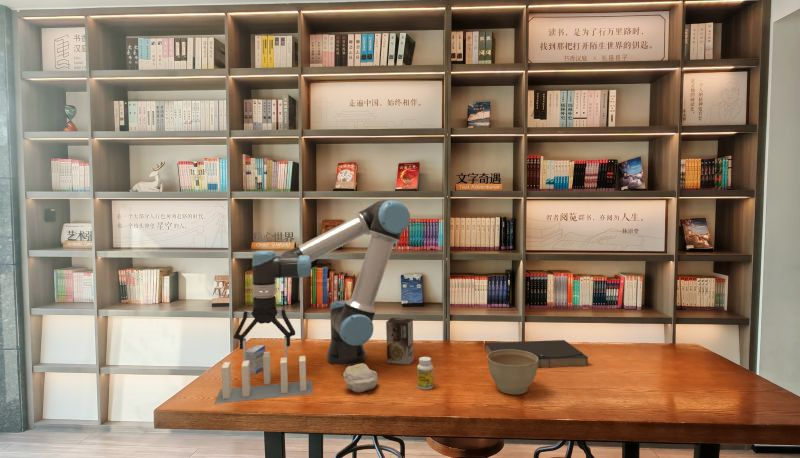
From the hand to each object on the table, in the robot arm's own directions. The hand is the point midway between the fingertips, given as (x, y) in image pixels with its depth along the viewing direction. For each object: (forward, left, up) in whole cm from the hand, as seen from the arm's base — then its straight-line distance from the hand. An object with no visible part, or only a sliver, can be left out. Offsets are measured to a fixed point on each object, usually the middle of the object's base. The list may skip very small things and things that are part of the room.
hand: (265, 357), depth 163 cm
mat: (0, +9, -9) cm, 13 cm away
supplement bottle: (-52, +17, -9) cm, 56 cm away
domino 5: (-12, +9, -9) cm, 18 cm away
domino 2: (+6, +9, -9) cm, 14 cm away
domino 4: (-6, +9, -9) cm, 14 cm away
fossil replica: (-31, +14, -9) cm, 36 cm away
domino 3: (0, 0, -9) cm, 9 cm away
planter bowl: (-79, +26, -9) cm, 84 cm away
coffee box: (-49, -9, -9) cm, 51 cm away
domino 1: (+12, +9, -9) cm, 17 cm away
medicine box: (+5, -12, -9) cm, 16 cm away
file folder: (-101, -1, -10) cm, 102 cm away
